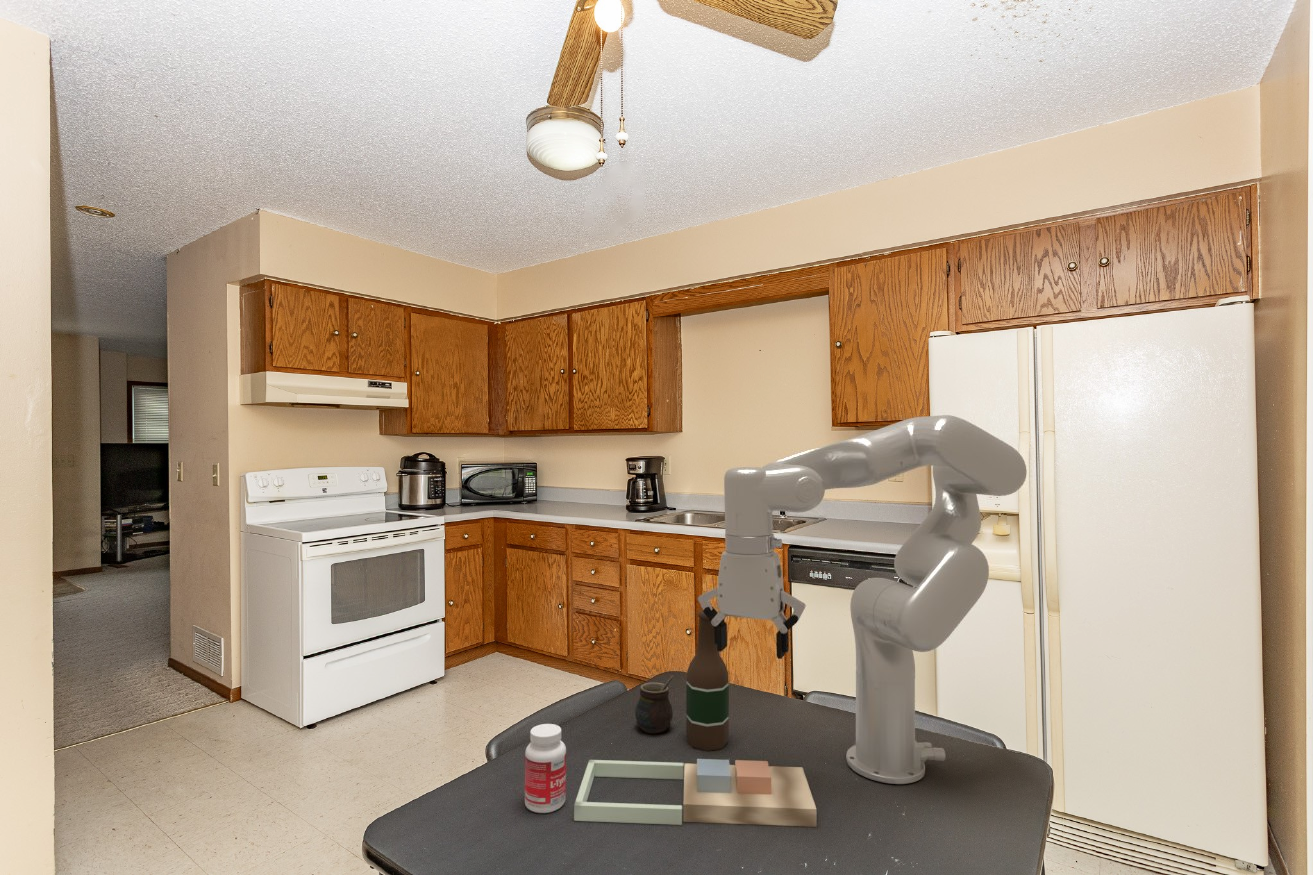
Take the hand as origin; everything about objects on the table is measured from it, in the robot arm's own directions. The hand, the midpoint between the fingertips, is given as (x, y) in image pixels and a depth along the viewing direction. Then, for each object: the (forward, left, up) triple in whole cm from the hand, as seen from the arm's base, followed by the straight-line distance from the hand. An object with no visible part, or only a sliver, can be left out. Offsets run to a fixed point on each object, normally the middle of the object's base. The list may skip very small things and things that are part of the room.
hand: (751, 652), depth 103 cm
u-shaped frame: (+19, +4, -22) cm, 29 cm away
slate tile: (+6, +4, -19) cm, 20 cm away
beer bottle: (+7, -16, -22) cm, 28 cm away
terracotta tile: (0, +4, -19) cm, 19 cm away
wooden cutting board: (+1, +4, -22) cm, 22 cm away
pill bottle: (+32, +6, -22) cm, 39 cm away
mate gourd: (+17, -21, -22) cm, 34 cm away
